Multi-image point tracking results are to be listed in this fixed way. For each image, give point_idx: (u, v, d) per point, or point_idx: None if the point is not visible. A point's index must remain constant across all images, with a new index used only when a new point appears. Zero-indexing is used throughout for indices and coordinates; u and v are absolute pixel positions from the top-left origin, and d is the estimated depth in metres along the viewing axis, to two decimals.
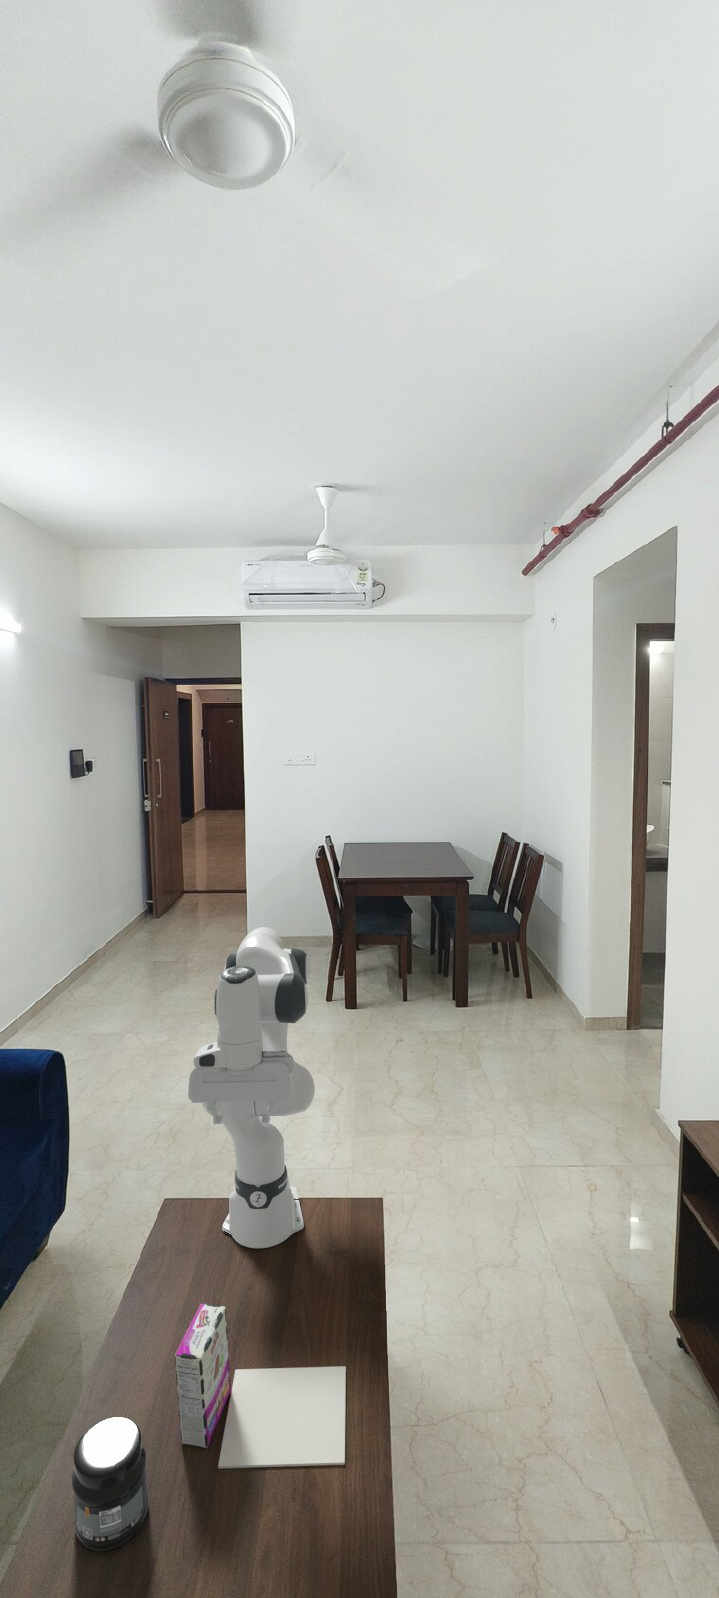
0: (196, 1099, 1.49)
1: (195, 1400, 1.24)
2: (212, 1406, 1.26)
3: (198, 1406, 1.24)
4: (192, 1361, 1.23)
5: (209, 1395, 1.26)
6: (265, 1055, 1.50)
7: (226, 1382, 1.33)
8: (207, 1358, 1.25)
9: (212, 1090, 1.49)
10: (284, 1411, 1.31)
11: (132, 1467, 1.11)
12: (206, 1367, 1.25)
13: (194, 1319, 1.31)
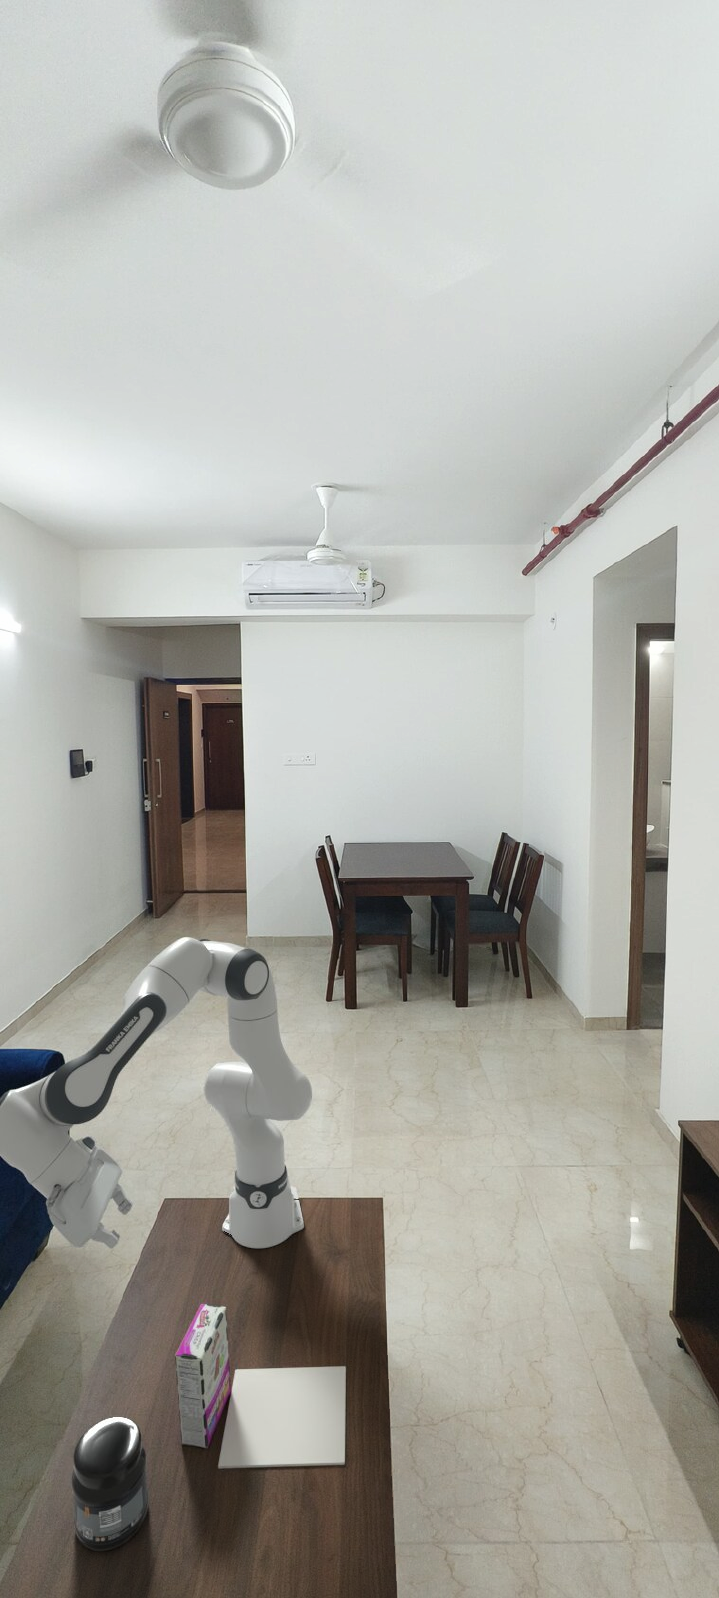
0: None
1: (196, 1400, 1.24)
2: (212, 1406, 1.26)
3: (198, 1406, 1.24)
4: (192, 1361, 1.23)
5: (209, 1395, 1.26)
6: None
7: (226, 1382, 1.33)
8: (207, 1358, 1.25)
9: None
10: (284, 1411, 1.31)
11: (132, 1467, 1.11)
12: (206, 1367, 1.25)
13: (194, 1319, 1.31)
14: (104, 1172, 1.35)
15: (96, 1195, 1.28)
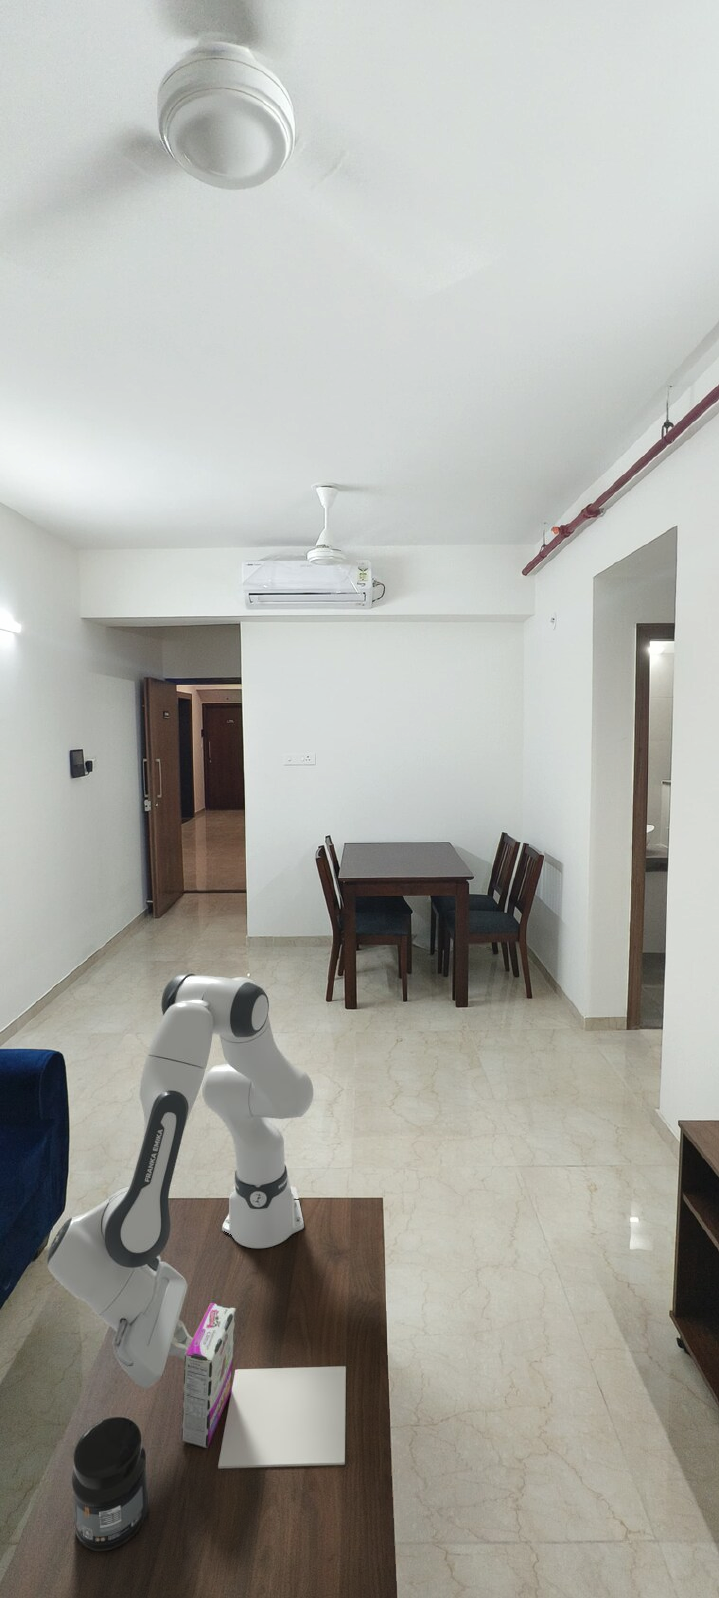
0: None
1: (201, 1400, 1.24)
2: (215, 1407, 1.26)
3: (203, 1406, 1.24)
4: (202, 1362, 1.23)
5: (214, 1396, 1.25)
6: None
7: (228, 1382, 1.33)
8: (216, 1360, 1.25)
9: None
10: (284, 1411, 1.31)
11: (132, 1467, 1.11)
12: (215, 1369, 1.24)
13: (204, 1318, 1.30)
14: (169, 1292, 1.33)
15: (162, 1325, 1.26)
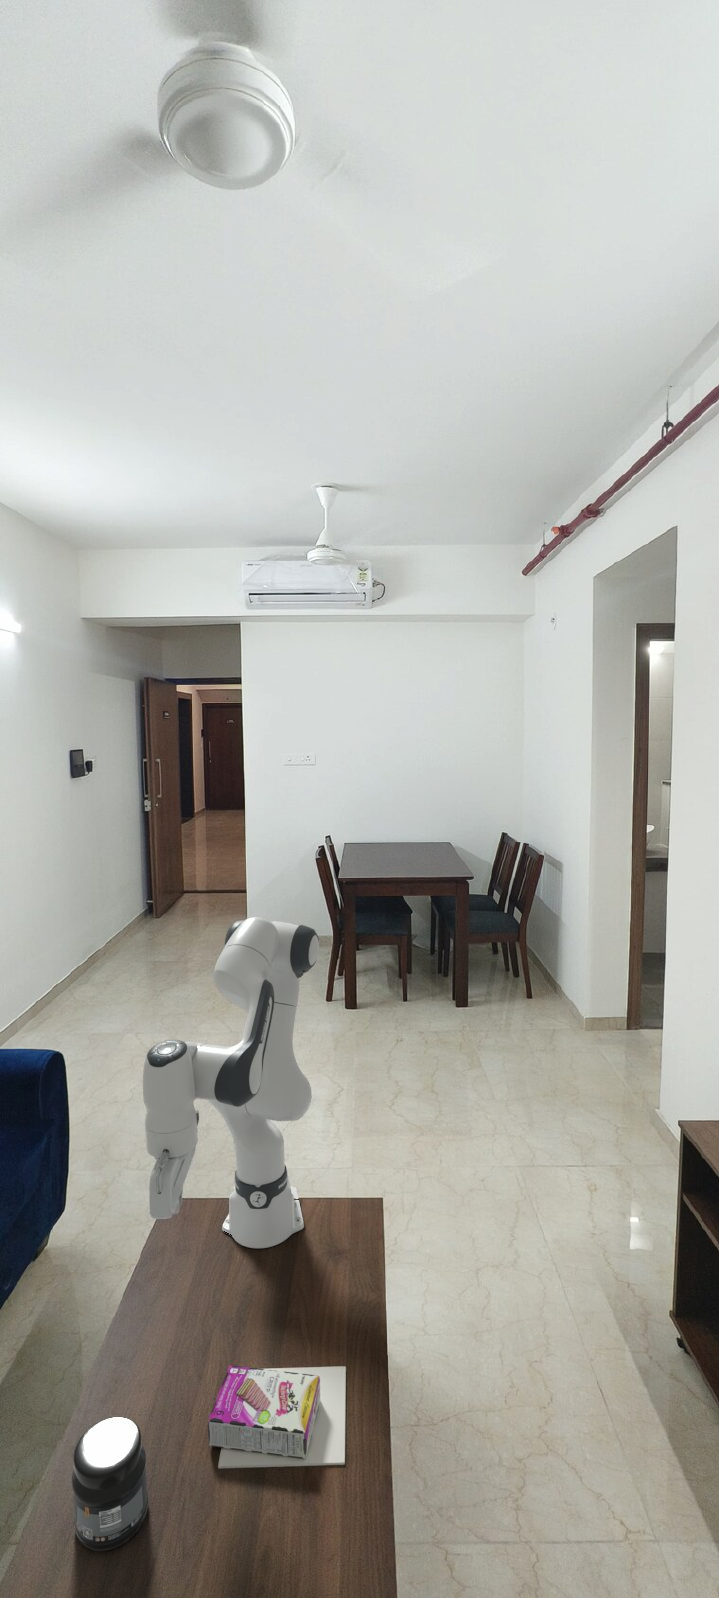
0: None
1: (259, 1445, 1.23)
2: None
3: (253, 1446, 1.23)
4: (302, 1450, 1.22)
5: None
6: None
7: None
8: None
9: None
10: None
11: (132, 1467, 1.11)
12: None
13: (315, 1395, 1.29)
14: None
15: (181, 1176, 1.34)
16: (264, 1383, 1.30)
